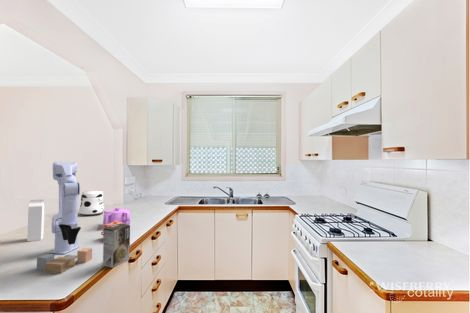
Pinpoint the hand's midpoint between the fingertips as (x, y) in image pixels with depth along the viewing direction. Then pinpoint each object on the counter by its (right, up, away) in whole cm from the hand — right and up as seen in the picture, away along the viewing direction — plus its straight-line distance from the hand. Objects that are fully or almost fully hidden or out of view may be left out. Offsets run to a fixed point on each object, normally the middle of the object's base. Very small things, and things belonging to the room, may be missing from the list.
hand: (68, 241), depth 105 cm
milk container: (-44, -10, +91) cm, 102 cm away
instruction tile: (-4, -9, +4) cm, 11 cm away
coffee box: (+20, -10, +2) cm, 22 cm away
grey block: (-7, -9, -5) cm, 12 cm away
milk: (-39, -9, +30) cm, 50 cm away
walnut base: (0, -9, -5) cm, 11 cm away
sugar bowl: (+3, -10, +34) cm, 35 cm away
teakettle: (-9, -10, +61) cm, 62 cm away
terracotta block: (+5, -10, +3) cm, 11 cm away
